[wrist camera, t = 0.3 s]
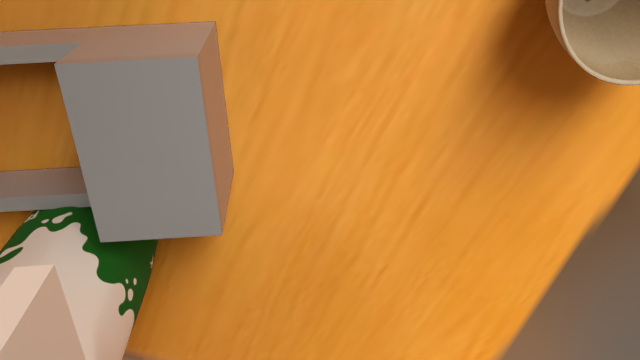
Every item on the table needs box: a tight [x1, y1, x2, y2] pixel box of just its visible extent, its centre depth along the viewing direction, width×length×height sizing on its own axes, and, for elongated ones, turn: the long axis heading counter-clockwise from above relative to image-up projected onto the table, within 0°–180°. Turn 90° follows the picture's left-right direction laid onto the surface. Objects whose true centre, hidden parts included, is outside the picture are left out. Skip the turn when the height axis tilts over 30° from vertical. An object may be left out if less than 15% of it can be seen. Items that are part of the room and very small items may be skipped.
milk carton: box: [0, 206, 158, 360], centre depth 33 cm, size 9×9×20 cm
